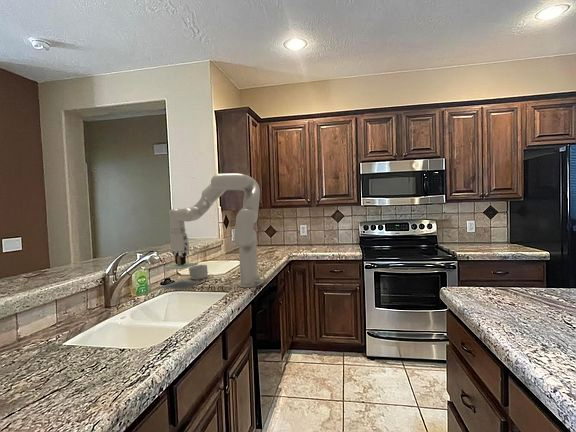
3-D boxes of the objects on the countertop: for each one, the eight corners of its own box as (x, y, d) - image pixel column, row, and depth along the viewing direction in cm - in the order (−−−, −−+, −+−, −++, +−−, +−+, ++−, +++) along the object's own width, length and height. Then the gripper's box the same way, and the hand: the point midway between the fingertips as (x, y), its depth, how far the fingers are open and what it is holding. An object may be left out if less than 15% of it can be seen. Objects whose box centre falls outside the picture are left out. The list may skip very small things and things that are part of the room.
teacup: (202, 281, 194) (202, 268, 193) (185, 281, 196) (185, 268, 195) (213, 276, 207) (212, 263, 207) (197, 275, 209) (196, 263, 209)
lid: (198, 264, 188) (197, 254, 187) (180, 269, 176) (179, 258, 176) (181, 263, 194) (180, 253, 193) (163, 268, 182) (162, 258, 182)
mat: (203, 283, 189) (203, 282, 189) (180, 291, 174) (180, 290, 174) (181, 281, 197) (181, 280, 197) (158, 288, 182) (158, 287, 182)
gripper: (193, 230, 183) (196, 262, 184) (172, 230, 191) (175, 262, 192) (183, 231, 177) (186, 265, 178) (162, 232, 185) (165, 264, 185)
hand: (180, 263), depth 185 cm, fingers closed on lid, 3 cm apart
